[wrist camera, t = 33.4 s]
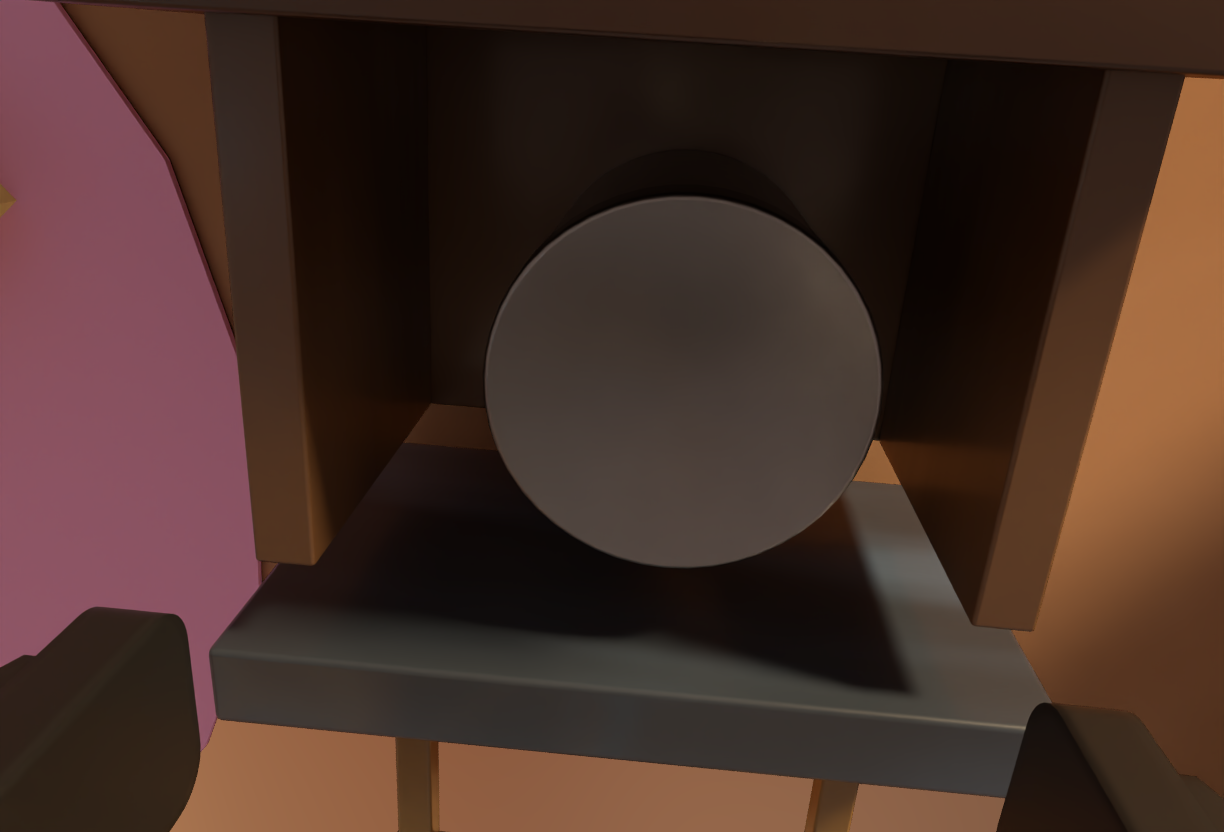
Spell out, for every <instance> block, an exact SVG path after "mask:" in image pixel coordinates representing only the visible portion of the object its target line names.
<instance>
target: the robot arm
mask: <svg viewBox="0 0 1224 832" xmlns="http://www.w3.org/2000/svg"><path fill="white" fill-rule="evenodd" d="M200 751H201V744H200V733H199V725H198V716H197V708H196V700H195V692H194V683H193V675H192V667H191V658H190V650H189V642H188V635H187V630H186V627H185V624H184V622H183V621H182V619H181V618H180V617H179V616H177V615H175V614H170V613H160V612H149V611H139V610H129V609H119V608H109V607H97V606H96V607H92V608H90V609H88V610H86V611H84V612H83V613H82V614H80V615H79V616H78V617H77V618H76V619H75V620H74V621H73V622H72V623H70V624H69V625H68V626H67V627H66V628H65V629H64V630H63V631H62V632H61V633H60V634H59V635H58V636H56V637H55V638H54V639H53V640H52V641H51V642H50V643H49V644H48V645H47V646H46V647H45V648H44V649H42V650H41V651H40V652H39V653H38V654H37V655H36V656H32V655H23V656H21V657H19V658H17V659H15V660H13V661H11V662H9V663H8V664H6V665H4V666H2V667H0V832H169V831H170V830H171V828H172V827H173V826H174V824H175V823H176V821H177V820H178V818H179V816H180V815H181V813H182V811H183V810H184V808H185V806H186V804H187V802H188V800H189V798H190V795H191V793H192V790H193V787H194V784H195V781H196V777H197V773H198V768H199V762H200ZM996 832H1224V799H1223V798H1222V797H1221V796H1220V795H1218V794H1217V793H1216V792H1215V791H1213V790H1212V789H1211V788H1210V787H1209V786H1207V785H1206V784H1205V783H1204V782H1203V781H1201V780H1200V779H1199V778H1198V777H1197V776H1188V775H1178V773H1177V772H1176V770H1175V769H1174V767H1173V766H1172V764H1171V763H1170V762H1169V760H1168V759H1167V757H1166V756H1165V754H1164V753H1163V751H1162V750H1161V749H1160V747H1159V746H1158V744H1157V743H1156V741H1155V740H1154V738H1153V737H1152V736H1151V734H1150V733H1149V731H1148V730H1147V728H1146V727H1145V725H1144V724H1143V723H1142V722H1141V720H1140V719H1139V718H1138V717H1137V716H1136V715H1134V714H1133V713H1131V712H1129V711H1125V710H1116V709H1106V708H1095V707H1085V706H1075V705H1065V704H1055V703H1045V702H1044V703H1040V704H1039V705H1037V706H1036V707H1035V708H1034V710H1033V711H1032V713H1031V715H1030V717H1029V719H1028V722H1027V725H1026V729H1025V732H1024V736H1023V739H1022V743H1021V746H1020V750H1019V753H1018V757H1017V760H1016V764H1015V767H1014V771H1013V774H1012V777H1011V781H1010V784H1009V788H1008V791H1007V795H1006V798H1005V802H1004V806H1003V809H1002V813H1001V816H1000V819H999V823H998V827H997V831H996Z"/></svg>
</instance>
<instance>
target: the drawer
mask: <svg viewBox="0 0 1224 832" xmlns="http://www.w3.org/2000/svg"><path fill="white" fill-rule="evenodd" d="M204 15H205V26H206V36H207V47H208V57H209V68H210V78H211V89H212V99H213V110H214V121H215V131H216V142H217V152H218V163H219V173H220V184H221V194H222V205H223V216H224V226H225V237H226V247H227V258H228V268H229V279H230V289H231V300H232V311H233V321H234V332H235V342H236V353H237V363H238V374H239V384H240V395H241V406H242V416H243V427H244V437H245V448H246V458H247V469H248V479H249V490H250V501H251V511H252V522H253V532H254V543H255V553H256V559H257V560H258V561H263V562H274V563H278V564H277V565H276V566H275V567H274V569H273V570H272V571H271V572H270V574H269V575H268V576H267V578H266V579H265V580H264V581H263V583H262V584H261V585H260V586H259V588H258V589H257V590H256V591H255V593H254V594H253V595H252V596H251V598H250V599H249V600H248V601H247V603H246V604H245V605H244V606H243V608H242V609H241V610H240V611H239V613H238V614H237V615H236V617H235V618H234V619H233V620H232V622H231V623H230V624H229V625H228V627H227V628H226V629H225V630H224V632H223V633H222V634H221V635H220V637H219V638H218V639H217V640H216V642H215V643H214V644H213V645H212V647H211V648H210V651H209V661H210V670H211V678H212V686H213V694H214V702H215V711H216V716H217V718H219V719H221V720H227V721H237V722H248V723H258V724H267V725H278V726H287V727H298V728H307V729H317V730H328V731H337V732H347V733H348V732H349V733H357V734H368V735H378V736H388V737H396V767H397V795H398V827H399V830H398V832H443V831H439V760H438V742H448V743H458V744H468V745H479V746H488V747H498V748H508V749H518V750H528V751H539V752H549V753H558V754H568V755H578V756H588V757H599V758H608V759H618V760H629V761H638V762H649V763H658V764H668V765H678V766H689V767H699V768H709V769H719V770H729V771H740V772H749V773H759V774H769V775H779V776H789V777H799V778H810V779H814V781H813V787H812V793H811V798H810V804H809V809H808V814H807V820H806V826H805V831H804V832H849V829H850V824H851V819H852V815H853V809H854V805H855V800H856V795H857V790H858V785H859V784H869V785H879V786H889V787H899V788H910V789H920V790H930V791H939V792H950V793H959V794H970V795H979V796H990V797H999V798H1006V795H1007V791H1008V788H1009V784H1010V781H1011V777H1012V774H1013V771H1014V767H1015V764H1016V760H1017V757H1018V753H1019V750H1020V746H1021V743H1022V739H1023V736H1024V732H1025V729H1026V725H1027V722H1028V719H1029V717H1030V715H1031V713H1032V711H1033V710H1034V708H1035V707H1036V706H1037V705H1039V704H1040V703H1044V702H1045V703H1052V702H1051V700H1050V698H1049V696H1048V695H1047V693H1046V691H1045V689H1044V687H1043V686H1042V684H1041V682H1040V680H1039V679H1038V677H1037V675H1036V673H1035V672H1034V670H1033V668H1032V666H1031V665H1030V663H1029V661H1028V659H1027V657H1026V656H1025V654H1024V652H1023V650H1022V649H1021V647H1020V645H1019V643H1018V642H1017V640H1016V638H1015V636H1014V634H1013V633H1012V631H1011V630H1018V631H1029V632H1031V631H1034V629H1035V626H1036V623H1037V619H1038V615H1039V612H1040V608H1041V604H1042V601H1043V597H1044V593H1045V589H1046V586H1047V582H1048V578H1049V575H1050V571H1051V567H1052V564H1053V560H1054V556H1055V553H1056V549H1057V545H1058V542H1059V538H1060V534H1061V531H1062V527H1063V523H1064V520H1065V516H1066V512H1067V509H1068V505H1069V501H1070V498H1071V494H1072V490H1073V487H1074V483H1075V479H1076V476H1077V472H1078V468H1079V465H1080V461H1081V457H1082V454H1083V450H1084V446H1085V443H1086V439H1087V435H1088V431H1089V428H1090V424H1091V420H1092V417H1093V413H1094V409H1095V406H1096V402H1097V398H1098V395H1099V391H1100V387H1101V384H1102V380H1103V376H1104V373H1105V369H1106V365H1107V362H1108V358H1109V354H1110V351H1111V347H1112V343H1113V340H1114V336H1115V332H1116V329H1117V325H1118V321H1119V318H1120V314H1121V310H1122V307H1123V303H1124V299H1125V296H1126V292H1127V288H1128V285H1129V281H1130V277H1131V273H1132V270H1133V266H1134V262H1135V259H1136V255H1137V251H1138V248H1139V244H1140V240H1141V237H1142V233H1143V229H1144V226H1145V222H1146V218H1147V215H1148V211H1149V207H1150V204H1151V200H1152V196H1153V193H1154V189H1155V185H1156V182H1157V178H1158V174H1159V171H1160V167H1161V163H1162V160H1163V156H1164V152H1165V149H1166V145H1167V141H1168V138H1169V134H1170V130H1171V126H1172V123H1173V119H1174V115H1175V112H1176V108H1177V104H1178V101H1179V97H1180V93H1181V90H1182V86H1183V82H1184V79H1185V75H1177V74H1162V73H1146V72H1130V71H1115V70H1099V69H1084V68H1068V67H1053V66H1037V65H1022V64H1006V63H990V62H975V61H959V60H944V59H928V58H913V57H897V56H881V55H866V54H850V53H835V52H819V51H804V50H788V49H773V48H757V47H741V46H726V45H710V44H695V43H679V42H664V41H648V40H632V39H617V38H601V37H586V36H570V35H555V34H539V33H523V32H508V31H492V30H477V29H461V28H446V27H430V26H415V25H399V24H383V23H368V22H352V21H337V20H321V19H306V18H290V17H274V16H259V15H243V14H228V13H212V12H204ZM672 150H696V151H704V152H711V153H715V154H719V155H722V156H726V157H730V158H732V159H735V160H737V161H739V162H741V163H744V164H746V165H748V166H750V167H751V168H753V169H755V170H756V171H758V172H760V173H761V174H763V175H764V176H766V177H767V178H768V179H769V180H770V181H772V182H773V183H774V184H775V185H777V186H778V187H779V188H780V189H781V191H782V192H783V193H784V194H785V195H786V196H787V197H788V198H789V199H790V200H791V202H792V203H793V204H794V206H795V207H796V209H797V210H798V211H799V213H800V214H801V216H802V217H803V218H804V220H805V221H806V223H807V224H808V225H809V227H810V228H811V230H812V231H813V232H814V234H816V235H817V236H818V237H819V238H820V239H821V240H822V241H823V243H824V244H825V245H826V246H827V247H828V248H829V249H830V250H831V251H832V252H833V253H834V254H835V256H836V257H837V258H838V260H839V261H840V262H841V264H842V265H843V266H844V268H845V269H846V271H847V272H848V274H849V275H850V276H851V278H852V279H853V281H854V282H855V284H856V285H857V287H858V288H859V290H860V292H861V294H862V296H863V298H864V300H865V302H866V304H867V306H868V308H869V310H870V313H871V316H872V319H873V322H874V325H875V328H876V331H877V334H878V337H879V343H880V349H881V354H882V360H883V384H884V386H883V396H882V405H881V412H880V416H879V420H878V424H877V428H876V432H875V436H874V438H873V440H878V441H880V443H881V445H882V447H883V449H884V451H885V453H886V455H887V457H888V459H889V461H890V463H891V465H892V467H893V469H894V471H895V473H896V475H897V477H898V479H899V481H900V483H901V485H896V484H885V483H873V482H861V481H851V483H850V484H849V485H848V487H847V488H846V489H845V491H844V492H843V493H842V495H841V496H840V497H839V499H838V500H837V501H836V502H835V503H834V504H833V505H832V506H831V507H830V508H829V509H828V510H827V511H826V512H825V513H824V514H823V515H822V516H821V517H820V518H819V519H817V520H816V521H815V522H814V523H812V524H811V525H810V526H808V527H807V528H806V529H805V530H803V531H802V532H801V533H799V534H797V535H796V536H794V537H792V538H791V539H789V540H787V541H786V542H784V543H783V544H781V545H779V546H777V547H774V548H772V549H770V550H768V551H766V552H763V553H761V554H759V555H756V556H753V557H750V558H747V559H743V560H740V561H737V562H733V563H728V564H723V565H718V566H713V567H701V568H689V569H686V568H662V567H655V566H648V565H642V564H637V563H634V562H630V561H626V560H622V559H619V558H616V557H613V556H610V555H608V554H605V553H603V552H600V551H598V550H595V549H593V548H591V547H590V546H588V545H586V544H584V543H582V542H580V541H578V540H577V539H575V538H573V537H572V536H570V535H569V534H567V533H566V532H564V531H563V530H562V529H560V528H559V527H557V526H556V525H554V524H553V523H552V522H551V521H550V520H549V519H548V518H547V517H546V516H544V515H543V514H542V513H541V512H540V511H539V510H538V509H537V508H536V507H535V506H534V505H533V504H532V503H531V501H530V500H529V499H528V498H527V497H526V496H525V494H524V493H523V492H522V491H521V490H520V488H519V487H518V485H517V484H516V482H515V481H514V479H513V478H512V476H511V475H510V473H509V472H508V470H507V468H506V466H505V464H504V462H503V460H502V458H501V456H500V454H499V452H498V451H496V450H485V449H473V448H461V447H449V446H438V445H426V444H414V443H403V442H404V440H405V439H406V438H407V436H408V435H409V433H410V432H411V431H412V429H413V428H414V426H415V425H416V424H417V422H418V421H419V420H420V418H421V417H422V415H423V414H424V413H425V411H426V410H427V408H428V407H429V406H430V404H431V403H432V404H444V405H456V406H469V407H481V408H485V403H484V388H483V372H484V359H485V351H486V347H487V342H488V337H489V333H490V329H491V326H492V324H493V321H494V318H495V316H496V313H497V310H498V307H499V305H500V303H501V302H502V300H503V298H504V296H505V294H506V292H507V290H508V289H509V287H510V285H511V283H512V282H513V280H514V279H515V278H516V276H517V275H518V274H519V272H520V271H521V270H522V268H523V267H524V265H525V264H526V263H527V261H528V260H529V259H530V257H531V256H532V255H533V253H534V252H535V251H536V250H537V249H538V248H539V247H540V246H541V245H542V244H543V243H544V242H545V241H546V240H547V239H548V238H549V237H550V236H551V234H553V232H554V231H555V230H556V228H557V227H558V226H559V224H560V223H561V221H562V220H563V219H564V217H565V216H566V214H567V213H568V212H569V210H570V209H571V208H572V206H573V205H574V204H575V202H576V201H577V199H578V198H579V197H580V196H581V195H582V194H583V193H584V192H585V191H586V190H587V189H588V188H589V187H590V186H591V185H592V184H594V183H595V182H596V181H597V180H599V179H600V178H601V177H602V176H604V175H605V174H607V173H608V172H610V171H612V170H613V169H615V168H617V167H618V166H620V165H622V164H624V163H627V162H629V161H631V160H634V159H636V158H639V157H642V156H646V155H649V154H653V153H657V152H665V151H672Z"/></svg>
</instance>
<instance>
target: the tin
mask: <svg viewBox="0 0 1224 832" xmlns="http://www.w3.org/2000/svg"><path fill="white" fill-rule="evenodd" d="M883 386H884V384H883V360H882V354H881V349H880V343H879V337H878V334H877V331H876V328H875V325H874V322H873V319H872V316H871V313H870V310H869V308H868V306H867V304H866V302H865V300H864V298H863V296H862V294H861V292H860V290H859V288H858V287H857V285H856V284H855V282H854V281H853V279H852V278H851V276H850V275H849V274H848V272H847V271H846V269H845V268H844V266H843V265H842V264H841V262H840V261H839V260H838V258H837V257H836V256H835V254H834V253H833V252H832V251H831V250H830V249H829V248H828V247H827V246H826V245H825V244H824V243H823V241H822V240H821V239H820V238H819V237H818V236H817V235H816V234H814V232H813V231H812V230H811V228H810V227H809V225H808V224H807V223H806V221H805V220H804V218H803V217H802V216H801V214H800V213H799V211H798V210H797V209H796V207H795V206H794V204H793V203H792V202H791V200H790V199H789V198H788V197H787V196H786V195H785V194H784V193H783V192H782V191H781V189H780V188H779V187H778V186H777V185H775V184H774V183H773V182H772V181H770V180H769V179H768V178H767V177H766V176H764V175H763V174H761V173H760V172H758V171H756V170H755V169H753V168H751V167H750V166H748V165H746V164H744V163H741V162H739V161H737V160H735V159H732V158H730V157H726V156H722V155H719V154H715V153H711V152H704V151H696V150H672V151H665V152H657V153H653V154H649V155H646V156H642V157H639V158H636V159H634V160H631V161H629V162H627V163H624V164H622V165H620V166H618V167H617V168H615V169H613V170H612V171H610V172H608V173H607V174H605V175H604V176H602V177H601V178H600V179H599V180H597V181H596V182H595V183H594V184H592V185H591V186H590V187H589V188H588V189H587V190H586V191H585V192H584V193H583V194H582V195H581V196H580V197H579V198H578V199H577V201H576V202H575V204H574V205H573V206H572V208H571V209H570V210H569V212H568V213H567V214H566V216H565V217H564V219H563V220H562V221H561V223H560V224H559V226H558V227H557V228H556V230H555V231H554V232H553V234H551V236H550V237H549V238H548V239H547V240H546V241H545V242H544V243H543V244H542V245H541V246H540V247H539V248H538V249H537V250H536V251H535V252H534V253H533V255H532V256H531V257H530V259H529V260H528V261H527V263H526V264H525V265H524V267H523V268H522V270H521V271H520V272H519V274H518V275H517V276H516V278H515V279H514V280H513V282H512V283H511V285H510V287H509V289H508V290H507V292H506V294H505V296H504V298H503V300H502V302H501V303H500V305H499V307H498V310H497V313H496V316H495V318H494V321H493V324H492V326H491V329H490V333H489V337H488V342H487V347H486V351H485V359H484V372H483V388H484V403H485V408H486V413H487V418H488V423H489V427H490V430H491V433H492V436H493V439H494V442H495V445H496V448H497V450H498V452H499V454H500V456H501V458H502V460H503V462H504V464H505V466H506V468H507V470H508V472H509V473H510V475H511V476H512V478H513V479H514V481H515V482H516V484H517V485H518V487H519V488H520V490H521V491H522V492H523V493H524V494H525V496H526V497H527V498H528V499H529V500H530V501H531V503H532V504H533V505H534V506H535V507H536V508H537V509H538V510H539V511H540V512H541V513H542V514H543V515H544V516H546V517H547V518H548V519H549V520H550V521H551V522H552V523H553V524H554V525H556V526H557V527H559V528H560V529H562V530H563V531H564V532H566V533H567V534H569V535H570V536H572V537H573V538H575V539H577V540H578V541H580V542H582V543H584V544H586V545H588V546H590V547H591V548H593V549H595V550H598V551H600V552H603V553H605V554H608V555H610V556H613V557H616V558H619V559H622V560H626V561H630V562H634V563H637V564H642V565H648V566H655V567H662V568H686V569H689V568H701V567H713V566H718V565H723V564H728V563H733V562H737V561H740V560H743V559H747V558H750V557H753V556H756V555H759V554H761V553H763V552H766V551H768V550H770V549H772V548H774V547H777V546H779V545H781V544H783V543H784V542H786V541H787V540H789V539H791V538H792V537H794V536H796V535H797V534H799V533H801V532H802V531H803V530H805V529H806V528H807V527H808V526H810V525H811V524H812V523H814V522H815V521H816V520H817V519H819V518H820V517H821V516H822V515H823V514H824V513H825V512H826V511H827V510H828V509H829V508H830V507H831V506H832V505H833V504H834V503H835V502H836V501H837V500H838V499H839V497H840V496H841V495H842V493H843V492H844V491H845V489H846V488H847V487H848V485H849V484H850V483H851V481H852V480H853V479H854V477H855V475H856V474H857V472H858V470H859V468H860V466H861V465H862V463H863V461H864V459H865V458H866V455H867V453H868V450H869V448H870V445H871V443H872V440H873V438H874V436H875V432H876V428H877V424H878V420H879V416H880V412H881V405H882V396H883Z"/></svg>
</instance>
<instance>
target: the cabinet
mask: <svg viewBox="0 0 1224 832" xmlns="http://www.w3.org/2000/svg"><path fill="white" fill-rule="evenodd" d="M33 1H45V2H58V3H72V4H84V5H97V6H109V7H122V8H134V9H147V10H160V11H172V12H185V13H198V14H204V12H212V13H228V14H243V15H259V16H274V17H290V18H306V19H321V20H337V21H352V22H368V23H383V24H399V25H415V26H430V27H446V28H461V29H477V30H492V31H508V32H523V33H539V34H555V35H570V36H586V37H601V38H617V39H632V40H648V41H664V42H679V43H695V44H710V45H726V46H741V47H757V48H773V49H788V50H804V51H819V52H835V53H850V54H866V55H881V56H897V57H913V58H928V59H944V60H959V61H975V62H990V63H1006V64H1022V65H1037V66H1053V67H1068V68H1084V69H1099V70H1115V71H1130V72H1146V73H1162V74H1177V75H1185V77H1192V78H1212V79H1224V0H33Z"/></svg>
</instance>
